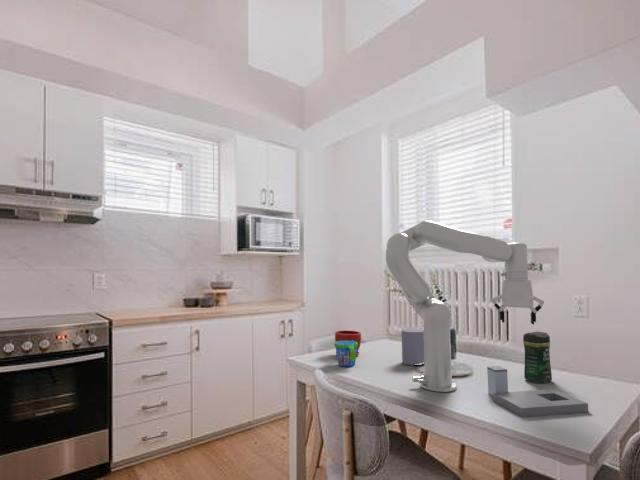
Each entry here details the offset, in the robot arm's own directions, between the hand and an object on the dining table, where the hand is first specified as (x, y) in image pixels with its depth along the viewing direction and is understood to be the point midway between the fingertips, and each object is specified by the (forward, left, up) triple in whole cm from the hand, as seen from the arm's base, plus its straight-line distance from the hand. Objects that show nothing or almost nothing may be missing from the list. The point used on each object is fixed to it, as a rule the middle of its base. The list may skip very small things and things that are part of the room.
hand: (517, 322), depth 140 cm
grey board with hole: (-7, -17, -23) cm, 30 cm away
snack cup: (-55, +45, -24) cm, 74 cm away
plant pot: (-50, +63, -24) cm, 83 cm away
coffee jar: (+12, +7, -24) cm, 27 cm away
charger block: (-13, -5, -23) cm, 27 cm away
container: (-24, +42, -24) cm, 53 cm away
